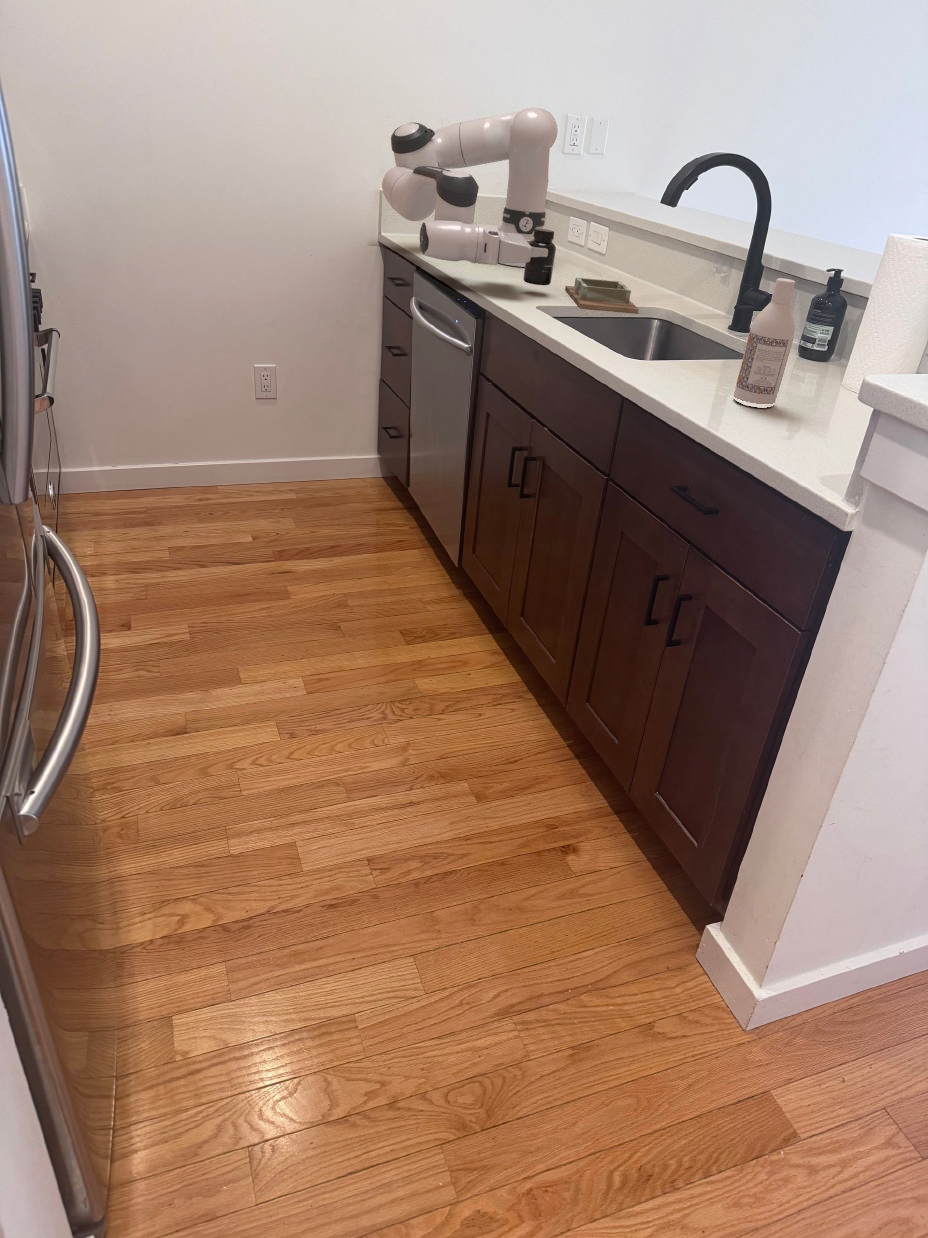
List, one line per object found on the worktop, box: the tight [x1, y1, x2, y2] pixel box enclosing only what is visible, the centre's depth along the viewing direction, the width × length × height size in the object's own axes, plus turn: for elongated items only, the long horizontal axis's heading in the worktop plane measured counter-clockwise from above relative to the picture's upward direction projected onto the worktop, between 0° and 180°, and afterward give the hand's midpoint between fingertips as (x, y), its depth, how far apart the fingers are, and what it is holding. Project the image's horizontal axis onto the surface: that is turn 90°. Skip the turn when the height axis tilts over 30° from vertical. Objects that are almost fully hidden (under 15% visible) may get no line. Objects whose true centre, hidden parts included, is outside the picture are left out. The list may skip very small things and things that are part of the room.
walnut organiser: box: [564, 277, 640, 314], centre depth 215 cm, size 22×14×4 cm, turn 4°
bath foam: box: [733, 277, 796, 404], centre depth 144 cm, size 7×7×20 cm
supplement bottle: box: [523, 228, 557, 286], centre depth 211 cm, size 7×7×12 cm
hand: (545, 249), depth 211 cm, fingers closed on supplement bottle, 7 cm apart
